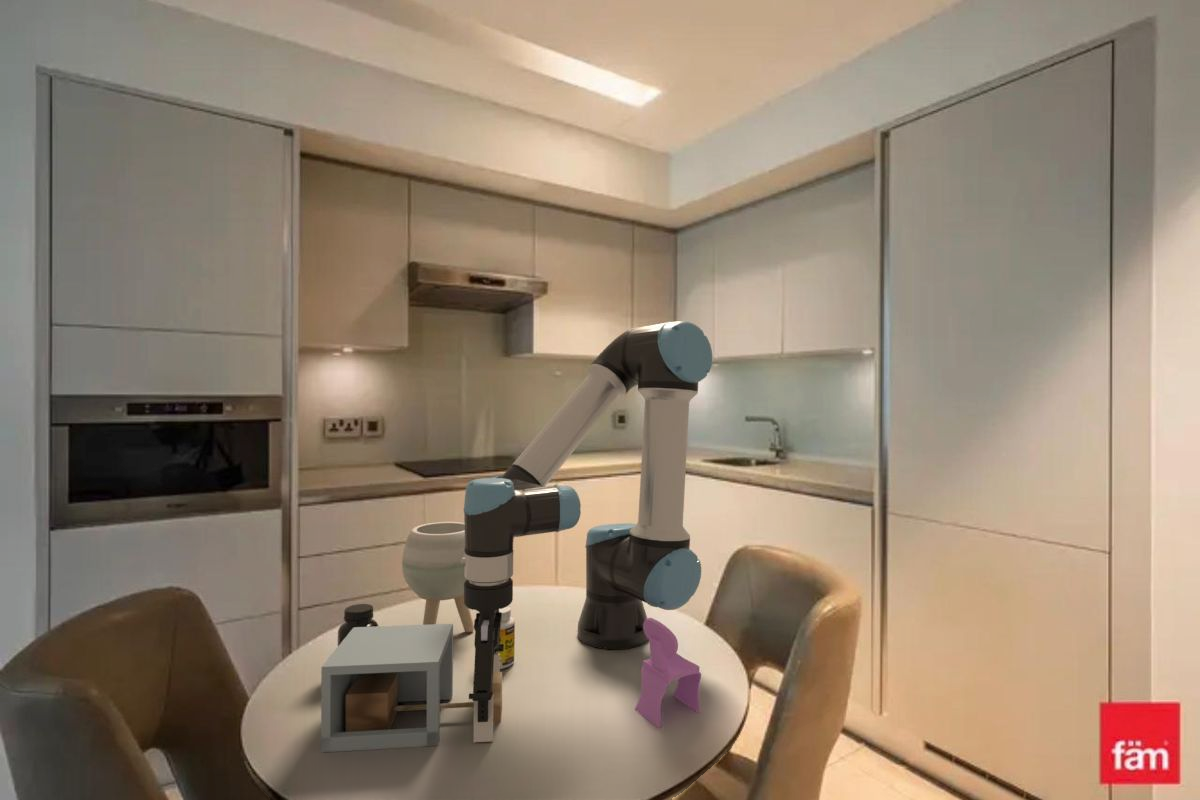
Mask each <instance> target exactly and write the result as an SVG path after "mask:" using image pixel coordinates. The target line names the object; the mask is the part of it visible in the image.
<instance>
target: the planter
mask: <svg viewBox="0 0 1200 800" xmlns="http://www.w3.org/2000/svg"><path fill="white" fill-rule="evenodd" d="M461 558H465V523H464V522H459V521H441V522H439V521H438V522H437V521H436V522H429V523H425V524H424V523H423V524H420V525H418V526H414V527H413V528H412V529H411V531H410V532H409V534H408V537H407V539H406V542H405V545H404V548H403V552H402V563H401V564H402V565H401V567H402V575H403V578H404V581H405V583H406V584H407V585H408V587H409V589H410V590H412V592H413V593H415V594H416V595H417V596H418V597H419V598H420V599H423V600H425V605H424V613H423V619H422V621H423V622H422V625H431V624H437V620H438V615H439V609H440V605H441V603H440V602H441V601H448V600H454V603H455V607H456V609H457V613H458V615H459V618H460V622H461V624H462V627H463V631H464V632H466V633H472V632H473V631H475V629H474V620H473V618H472V615H471V614H472V613H471V609H469V608H467V607H466V606H465V604H464V582H465V581H466V580H467V579H466V578H465V576H464V567H465V565H466V564H461V563H460V560H461Z"/></svg>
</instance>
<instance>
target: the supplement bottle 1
mask: <svg viewBox="0 0 1200 800" xmlns="http://www.w3.org/2000/svg"><path fill="white" fill-rule="evenodd" d="M343 614H344V616H343V621H344V622H343V623H342V624H341V625H340V626H339V627H338V630H337V647H338V646H339V645H340V644H341V642H342V641H343V640H344V639H345V637H346V636H347V635H348V634H349V632H350V631H351V630H352V629H353V628H354V627H376V626H379V623H378V622H377V621H376V620H375V619H373V618H374V606H373V605H372V604H368V603H359V604H352V605H349V606H347V607H346V608H344V613H343ZM337 647H336V648H337Z"/></svg>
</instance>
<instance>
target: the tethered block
mask: <svg viewBox="0 0 1200 800" xmlns="http://www.w3.org/2000/svg"><path fill="white" fill-rule="evenodd" d="M492 692H493V723H502V722H501V721H502V716H503V715H502V714H503V672H501V671H500V672H497V673H493V684H492ZM398 703H399V702H398V673H396V674H374V675H358V677H357V678H356V680H355V681H354V683H353V684H352V686H351V687H350V689H349V690H348V692H347V694H346V726H345V732H355V731H373V730H391V726H392V725H393V722H394V720H395V718H396V715H397V714H398V712H402V711H403V712H404V711H421V710H425V711H427V703H426V704H406V705H398ZM460 708H474V701H469V702H468V701H467V702H446V703H440V709H441V710H442V709H460Z"/></svg>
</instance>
